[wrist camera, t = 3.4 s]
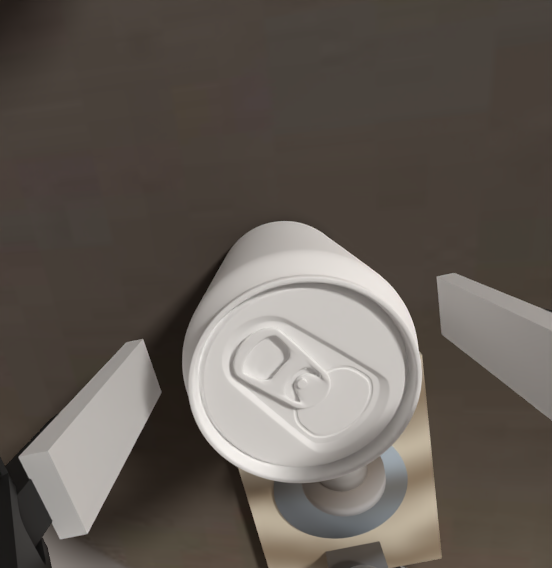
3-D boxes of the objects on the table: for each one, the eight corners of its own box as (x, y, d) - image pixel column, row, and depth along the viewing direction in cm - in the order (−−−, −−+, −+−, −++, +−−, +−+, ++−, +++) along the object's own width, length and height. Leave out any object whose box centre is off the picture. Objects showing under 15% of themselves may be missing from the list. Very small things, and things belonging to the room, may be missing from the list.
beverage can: (292, 361, 23) (320, 531, 12) (196, 293, 22) (117, 412, 10) (370, 272, 22) (493, 368, 10) (273, 192, 20) (286, 196, 8)
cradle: (219, 386, 23) (197, 481, 16) (414, 346, 23) (487, 423, 16) (274, 574, 29) (278, 712, 21) (434, 543, 28) (497, 672, 21)
